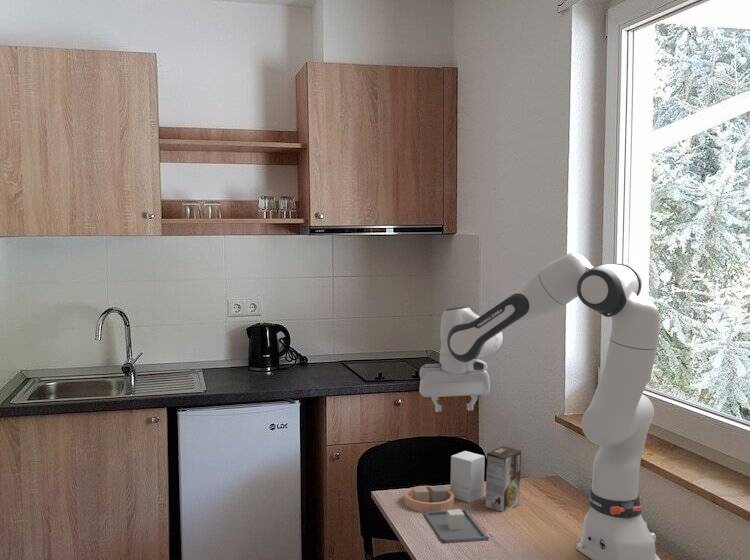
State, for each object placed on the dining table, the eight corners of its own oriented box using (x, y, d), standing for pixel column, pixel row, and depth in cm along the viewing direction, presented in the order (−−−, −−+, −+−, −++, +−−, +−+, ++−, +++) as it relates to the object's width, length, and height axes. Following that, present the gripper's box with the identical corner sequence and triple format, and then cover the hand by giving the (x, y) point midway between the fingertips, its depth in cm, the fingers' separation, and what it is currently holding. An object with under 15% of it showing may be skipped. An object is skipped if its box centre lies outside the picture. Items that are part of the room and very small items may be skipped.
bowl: (460, 512, 219) (460, 502, 219) (411, 515, 217) (411, 505, 216) (445, 494, 233) (446, 484, 233) (399, 497, 230) (399, 487, 230)
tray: (488, 541, 201) (488, 537, 201) (442, 544, 199) (442, 540, 199) (466, 513, 219) (466, 509, 219) (424, 516, 217) (424, 511, 216)
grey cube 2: (445, 504, 224) (446, 490, 224) (432, 505, 223) (433, 491, 223) (442, 499, 227) (442, 486, 227) (429, 500, 227) (429, 486, 226)
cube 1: (428, 505, 223) (428, 491, 223) (415, 506, 222) (415, 492, 222) (425, 500, 226) (425, 487, 226) (412, 501, 226) (412, 487, 225)
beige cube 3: (464, 529, 207) (464, 514, 207) (450, 529, 207) (450, 515, 206) (459, 523, 211) (460, 509, 210) (446, 524, 210) (446, 509, 210)
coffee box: (500, 499, 231) (502, 445, 229) (520, 504, 226) (522, 450, 225) (484, 508, 224) (486, 452, 222) (504, 514, 219) (506, 457, 218)
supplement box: (484, 497, 231) (486, 455, 230) (469, 504, 226) (470, 461, 225) (464, 491, 236) (465, 449, 235) (448, 497, 231) (450, 455, 230)
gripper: (422, 366, 219) (421, 415, 220) (492, 364, 223) (491, 412, 224) (416, 362, 225) (416, 409, 226) (485, 360, 229) (484, 406, 230)
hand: (454, 410), depth 225 cm, fingers open, 8 cm apart
